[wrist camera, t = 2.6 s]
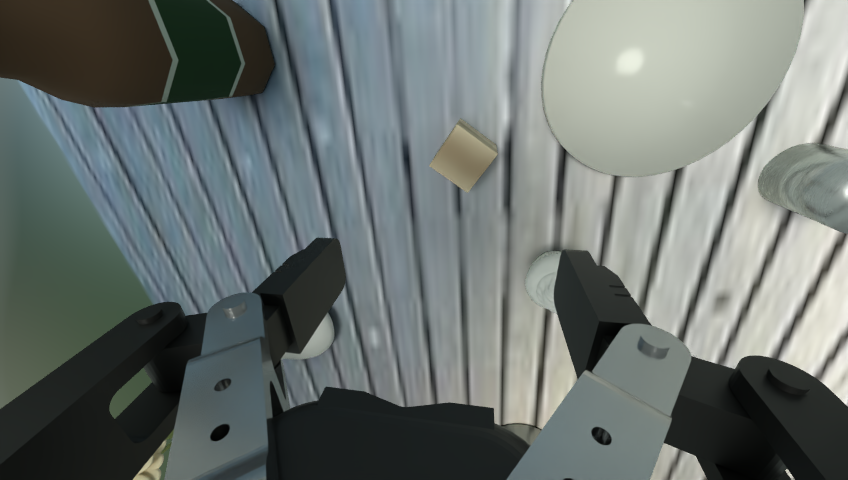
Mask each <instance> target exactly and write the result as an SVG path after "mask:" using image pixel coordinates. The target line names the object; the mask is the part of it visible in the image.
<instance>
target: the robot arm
mask: <svg viewBox="0 0 848 480" xmlns="http://www.w3.org/2000/svg"><path fill="white" fill-rule="evenodd" d="M345 279H346V274H345V268H344V262H343V257H342V251H341V246H340V242H339V240H338V239H335V238H316V239H315V240H314V241H313V242H312V243H311V244H310V245H309V246H307V247H306V248H305V249H304V250H301V251H299V252H298V253H296V254H294V255H292V256H290V257H289V258H288V259H287V260H286V261H285V262H284V263H283V264H282V266H280V267H279V268H278V269H277V270H275V272H273V273H272V274H271V275H270V276H269V277H268V278H267V279H266V280H265V281H264V282H263V283H262V284H260V285H259V286H258V287H257V288H256V289H255V290H254V291H253V292H252V293H249V292H247V293H239V294H235V295H231V296H229V297H226V298H224V299H222V300H220V301H219V302H217V303H216V304H215V305H213V306H212V307H211V308H210V310H209V311H208V313H202V314H195V315H188V316H185V314H184V312H183V310H182V308H181V306H180V304H178V303H175V302H163V303H158V304H154V305H151V306H148V307H146V308H143V309H141V310H139V311H137V312H135V313H134V314H132V315H131V316H129V317H128V318H126V319H125V320H123V321H122V322H121V323H119V324H118V325H117V326H115V327H114V328H112V329H111V330H110V331H108V332H107V333H105V334H104V335H103V336H101V337H100V338H98V339H97V340H96V341H94V342H93V343H91V344H90V345H89V346H87V347H86V348H85V349H83V350H82V351H80V352H79V353H78V354H76V355H75V356H73V357H72V358H71V359H69V360H68V361H67V362H65V363H64V364H62V365H61V366H60V367H58V368H57V369H56V370H54V371H53V372H51V373H50V374H49V375H47V376H46V377H45V378H43V379H42V380H40V381H39V382H38V383H36V384H35V385H33V386H32V387H30V388H29V389H28V390H26V391H25V392H24V393H22V394H21V395H20V396H18V397H17V398H15V399H14V400H12V401H11V402H10V403H8V404H7V405H5V406H4V407H3V408H1V409H0V480H133V479H134V477H135V476H136V475H137V474H138V472H139V471H140V470H141V469H142V468H143V466H144V465H145V464H146V463H147V461H148V460H149V459H150V458H151V457H152V455H153V454H154V453H155V452H156V450H157V449H158V448H159V447H160V446H161V444H162V443H163V442H164V441H165V439H166V438H167V437H168V436H169V434H170V433H171V432H172V431H173V430H174V433H173V438H172V443H171V448H170V453H169V459H168V464H167V470H166V475H165V480H650V478H651V475H652V472H653V470H654V467H655V464H656V462H657V459H658V456H659V453H660V451H661V448H662V445H663V443H666V444H668V445H671V446H673V447H675V448H678V449H680V450H683V451H685V452H688V453H690V454H693V455H695V456H696V457H697V459H698V461H699V463H700V465H701V467H702V469H703V471H704V473H705V475H706V477H707V479H708V480H791V478H790V477H789V476H788V474H787V473H786V471H785V470H786V469H788V470H789V471H790V473H791V474H792V476H793V477H794V478H795V480H848V407H847V406H846V405H845V404H844V403H843V402H842V401H841V400H840V399H839V398H838V397H837V396H836V395H835V394H834V393H833V392H832V391H831V390H830V389H829V388H827V387H826V386H825V385H824V384H823V383H822V382H820V381H819V380H817V379H816V378H815V377H813V376H811V375H810V374H808V373H806V372H805V371H803V370H801V369H799V368H797V367H795V366H793V365H790V364H788V363H785V362H783V361H780V360H777V359H773V358H769V357H764V356H747V357H744V358H742V359H741V360H740V361H739V363H738V365H737V366H736V368H735V369H732V368H729V367H726V366H722V365H719V364H715V363H712V362H708V361H705V360H702V359H698V358H695V357H693V356H691V354H690V351H689V350H688V348H687V347H686V346H685V345H684V343H683V342H681V341H680V340H679V339H678V338H676V337H675V336H673V335H672V334H670V333H668V332H666V331H664V330H662V329H660V328H657V327H654V326H651V324H650V323H649V321H648V320H647V318H646V317H645V315H644V314H643V312H642V311H641V309H640V308H639V306H638V305H637V303H636V302H635V301H634V299H633V298H632V297H631V295H630V293H629V292H628V290H627V289H626V288H625V286H624V284H623V283H622V281H621V280H620V278H619V277H618V276H617V275H616V274H615V273H613V272H612V271H610V270H609V269H608V268H606V267H605V266H597V265H596V263H595V262H594V260H593V258H592V257H591V255H590V253H589V252H588V251H580V250H563V251H562V252H561V255H560V260H559V265H558V270H557V276H556V281H555V286H554V305H555V308H556V311H557V315H558V318H559V321H560V324H561V327H562V330H563V334H564V337H565V340H566V343H567V346H568V349H569V353H570V356H571V359H572V362H573V365H574V368H575V372H576V375H577V378H578V380H577V382H576V383H575V384H574V386H573V387H572V389H571V390H570V391H569V393H568V394H567V396H566V397H565V398H564V400H563V401H562V403H561V404H560V405H559V407H558V408H557V410H556V411H555V412H554V414H553V415H552V417H551V418H550V419H549V421H548V422H547V424H546V425H545V426H544V428H543V429H542V431H541V430H540V429H537V428H535V427H532V426H528V425H521V424H513V425H506V426H500V425H497V424H495V423H494V408H488V407H480V406H472V405H465V404H457V403H441V404H433V405H424V406H415V407H401V406H398V405H395V404H393V403H391V402H388V401H386V400H383V399H381V398H379V397H376V396H374V395H371V394H369V393H367V392H364V391H356V390H348V389H340V388H333V387H325V389H324V391H323V393H322V395H321V397H320V399H319V400H318V401H313V402H308V403H305V404H302V405H299V406H296V407H293V408H291V409H290V404H289V398H288V391H287V385H286V378H285V372H284V365H283V362H282V359H281V358H282V357H283V355H284V354H285V352H286V353H295V354H301V352H302V351H303V349H304V348H305V346H306V345H307V343H308V342H309V340H310V339H311V337H312V336H313V334H314V333H315V331H316V330H317V328H318V326H319V325H320V323H321V322H322V320H323V319H324V317H325V316H326V314H327V313H328V311H329V310H330V308H331V307H332V305H333V304H334V302H335V301H336V299H337V298H338V296H339V294H340V293H341V291H342V290H343V288H344V285H345ZM142 368H144V369H145V371H146V373H147V374H148V376H149V377H150V379H151V380H152V383H151V384H150V385H149V386H148V387H147V388H146V389H145V390H144V391H143V392H142V393H141V394H140V395H139V396H138V397H137V398H136V399H135V400H134V401H133V402H132V403H131V404H130V405H129V406H128V407H127V408H126V409H125V410H124V411H123V412H122V413H121V414H120V415H119V416H118V417H117V418H116V419H114V418H113V417H112V415H111V414H110V411H109V405H110V402H111V399H112V397H113V396H114V395H115V393H116V392H117V391H118V390H119V389H120V388H121V387H122V386H123V385H124V384H126V383H127V382H128V381H129V380H130V379H131V378H132V377H133V376H134V375H135V374H137V373H138V372H139V371H140V370H141V369H142Z"/></svg>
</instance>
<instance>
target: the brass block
mask: <svg viewBox="0 0 848 480" xmlns="http://www.w3.org/2000/svg"><path fill="white" fill-rule="evenodd" d="M497 155H498V152H497V147H496V144H494V143H493V142H492V141H490V140H489V139H488V138H486V137H485V136H483V135H482V134H481V133H479V132H478V131H477V130H475V129H474V128H473V127H471V126H470V125H469V124H467V123H466V122H465V121H463V120H462V119H461V118H460V120H459V121H458V123H457V124H456V126H455V127H454V129H453V130H452V132H451V133H450V134H449V136H448V137H447V139H446V140H445V142H444V143H443V145H442V146H441V148H440V149H439V151H438V152H437V154H436V155H435V157H434V159H433V160H432V162H431V164H430V165H429V166H430V167H432V168H433V169H434V170H436V171H437V172H439V173H440V174H442V175H443V176H444V177H446V178H447V179H449V180H450V181H451V182H453V183H454V184H456V185H457V186H459V187H460V188H461V189H463V190H464V191H466V192H467V193H468V192H469V190H470V189H471V188H472V187H473V185H474V184H475V183H476V182H477V180H478V179H479V178H480V176H481V175H482V174H483V173H484V171H485V170H486V169H487V168H488V166H489V165H490V164H491V162H492V161H493V160H494V159H495V157H496V156H497Z"/></svg>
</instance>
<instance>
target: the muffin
mask: <svg viewBox="0 0 848 480" xmlns="http://www.w3.org/2000/svg"><path fill="white" fill-rule="evenodd" d="M560 255H561V252H559V251H551V252H550V251H549V252H545V254H542V255H540V256H539V257H538V258H537V259H536V260H535V261H534V262H533V263H532V266H531V267H530V268H529V272H528V273H527V276H526V279H525V287H526V291H527V293H528V295H529V296H530V298H531V299H532V300H533V301H534V302H535V303H536V304H538V305H539V306H541V307H543V308H546V309H549V310H550V311H551V312H553V313H556V314H557V311H556V308H555V305H554V286H555V281H556V276H557V270H558V265H559V260H560Z"/></svg>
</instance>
